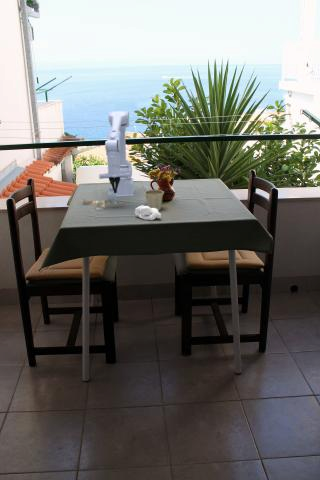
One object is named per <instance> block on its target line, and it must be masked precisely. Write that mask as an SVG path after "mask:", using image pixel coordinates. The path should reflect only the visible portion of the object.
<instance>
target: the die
mask: <svg viewBox="0 0 320 480" xmlns="http://www.w3.org/2000/svg"><path fill="white" fill-rule="evenodd" d="M95 201H96V204H95V205H96V206H95V207H96V210H98V211H99V210H106V204H105V201H106V200H103V199H102V200H95Z"/></svg>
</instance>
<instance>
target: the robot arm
mask: <svg viewBox="0 0 320 480" xmlns="http://www.w3.org/2000/svg"><path fill="white" fill-rule="evenodd" d="M108 123H109V124H110V126H111V129H110V130H109V132H108V135H107V136H108V137H107V140H105V143H104V148H105V152H106V153H105V154H106V156H107V157H106V159H107V173H99V175H98V178H99V179H98V180H102V179H108V181H109V183H110V184H111V185H110V186H112V187H113V191H114V193H117V197H126V196H127V197H130V196H135V187H134V184H135V183H134V178H133V177H132V176H133V167H132V162H130V161H129V160H128V159H127V152H126V149H127V148H126V147H127V145H126V129H127V128H129V127H130V112H129V111H128V110H122V111H119V110H118V111H115V110H114V111H113V110H110V111H109V112H108Z"/></svg>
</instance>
